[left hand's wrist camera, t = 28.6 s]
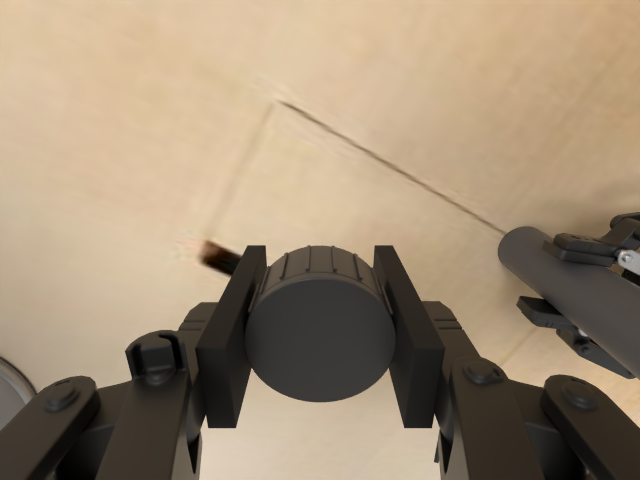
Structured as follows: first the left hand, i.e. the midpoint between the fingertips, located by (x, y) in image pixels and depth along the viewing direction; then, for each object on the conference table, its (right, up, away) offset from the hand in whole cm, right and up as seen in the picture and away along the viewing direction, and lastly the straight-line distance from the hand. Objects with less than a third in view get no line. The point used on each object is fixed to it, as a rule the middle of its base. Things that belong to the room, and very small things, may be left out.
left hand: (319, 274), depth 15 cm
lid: (0, -2, -4) cm, 4 cm away
